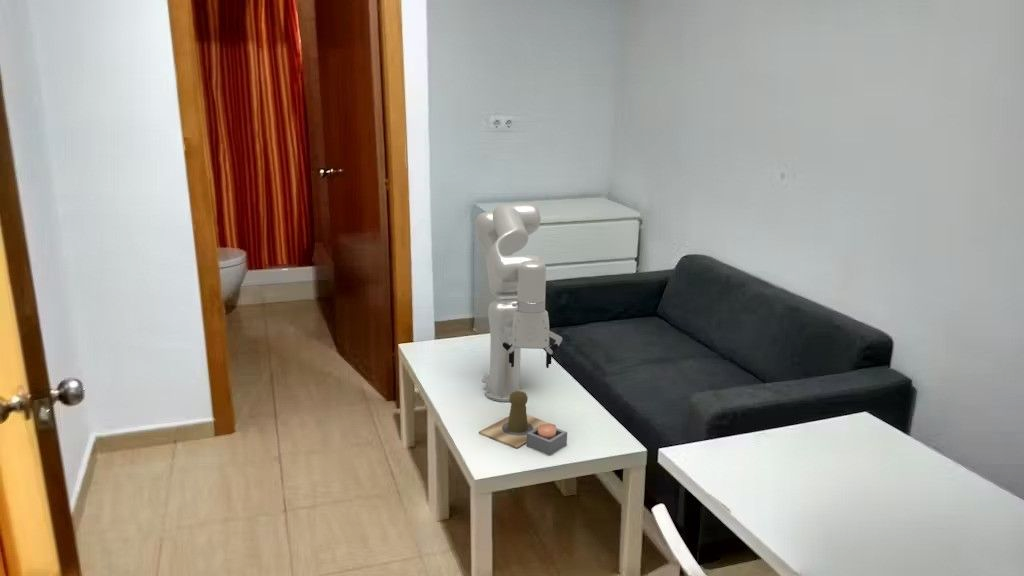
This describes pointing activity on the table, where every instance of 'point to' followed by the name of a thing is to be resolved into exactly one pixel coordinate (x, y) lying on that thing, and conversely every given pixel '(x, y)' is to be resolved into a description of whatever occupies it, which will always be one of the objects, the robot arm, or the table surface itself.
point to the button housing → (546, 441)
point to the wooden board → (509, 438)
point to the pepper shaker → (518, 412)
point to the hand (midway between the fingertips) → (530, 365)
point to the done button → (547, 431)
